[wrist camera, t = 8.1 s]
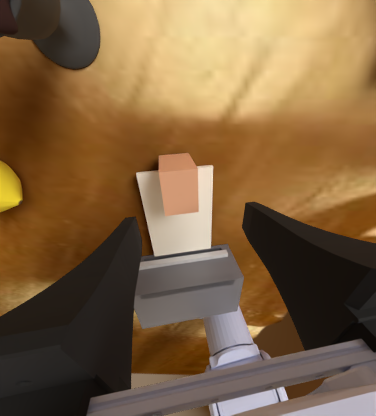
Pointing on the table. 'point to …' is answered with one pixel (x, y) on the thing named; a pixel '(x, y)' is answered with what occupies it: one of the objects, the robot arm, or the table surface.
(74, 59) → the sundae
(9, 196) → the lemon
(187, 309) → the dispenser
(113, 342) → the robot arm
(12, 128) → the table surface
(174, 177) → the peach block on base
